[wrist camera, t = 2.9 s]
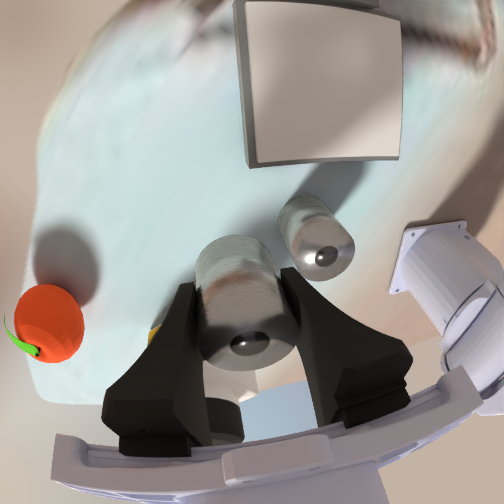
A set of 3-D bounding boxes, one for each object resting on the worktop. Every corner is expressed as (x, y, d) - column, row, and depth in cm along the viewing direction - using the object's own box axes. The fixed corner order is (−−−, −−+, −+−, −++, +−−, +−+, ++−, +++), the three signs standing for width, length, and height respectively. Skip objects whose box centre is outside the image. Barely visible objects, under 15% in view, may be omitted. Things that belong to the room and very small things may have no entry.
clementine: (25, 306, 22) (1, 358, 16) (20, 254, 19) (-16, 309, 13) (90, 330, 25) (75, 388, 19) (95, 281, 22) (72, 346, 16)
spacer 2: (328, 193, 21) (358, 225, 17) (325, 238, 23) (350, 275, 19) (276, 198, 20) (296, 233, 16) (278, 245, 23) (295, 286, 18)
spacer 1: (270, 229, 14) (301, 298, 10) (273, 290, 16) (297, 361, 12) (188, 242, 14) (187, 318, 9) (203, 302, 16) (209, 377, 12)
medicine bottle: (201, 295, 24) (209, 427, 14) (248, 334, 28) (271, 444, 18) (147, 330, 26) (138, 446, 16) (196, 361, 30) (203, 463, 20)
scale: (384, -3, 12) (407, -9, 10) (387, 154, 19) (407, 165, 17) (230, -21, 11) (234, -36, 9) (245, 161, 18) (252, 174, 16)
